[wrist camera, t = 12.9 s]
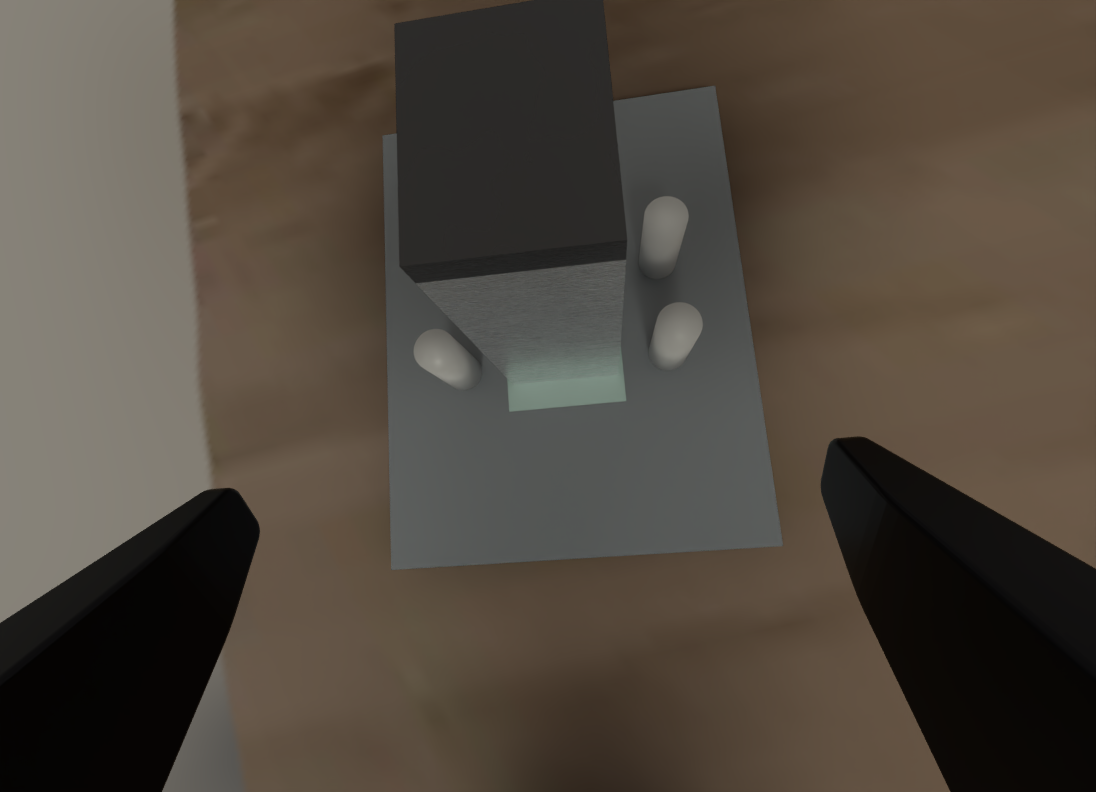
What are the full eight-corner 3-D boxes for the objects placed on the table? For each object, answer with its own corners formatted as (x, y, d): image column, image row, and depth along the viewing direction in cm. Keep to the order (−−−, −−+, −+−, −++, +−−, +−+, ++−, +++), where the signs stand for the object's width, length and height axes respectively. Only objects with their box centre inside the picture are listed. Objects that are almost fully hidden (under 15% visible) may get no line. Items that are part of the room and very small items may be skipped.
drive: (618, 374, 20) (627, 239, 9) (513, 384, 20) (399, 266, 9) (606, 249, 21) (601, -12, 10) (505, 261, 21) (394, 23, 10)
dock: (772, 542, 19) (823, 560, 15) (403, 565, 21) (344, 587, 16) (709, 106, 22) (734, 8, 18) (393, 152, 24) (341, 73, 19)
